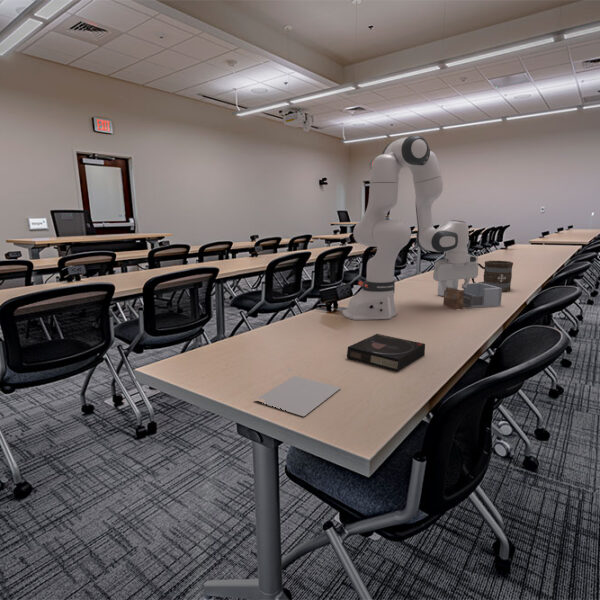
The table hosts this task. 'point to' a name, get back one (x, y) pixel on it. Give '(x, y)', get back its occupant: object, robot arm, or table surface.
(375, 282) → the robot arm
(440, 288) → the photo printer
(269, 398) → the paper stack
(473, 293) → the cabinet
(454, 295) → the brown rectangular block
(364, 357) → the portable cd player
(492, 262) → the mug
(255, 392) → the table surface
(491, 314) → the table surface
